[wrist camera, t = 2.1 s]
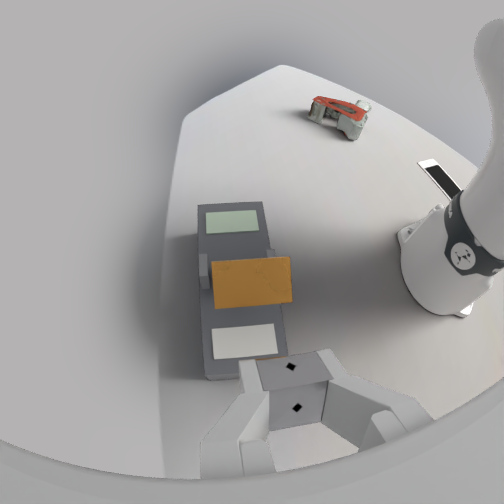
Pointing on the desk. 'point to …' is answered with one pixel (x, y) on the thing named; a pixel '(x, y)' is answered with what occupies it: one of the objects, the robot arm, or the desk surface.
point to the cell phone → (440, 178)
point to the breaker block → (239, 318)
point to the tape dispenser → (341, 114)
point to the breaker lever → (251, 282)
